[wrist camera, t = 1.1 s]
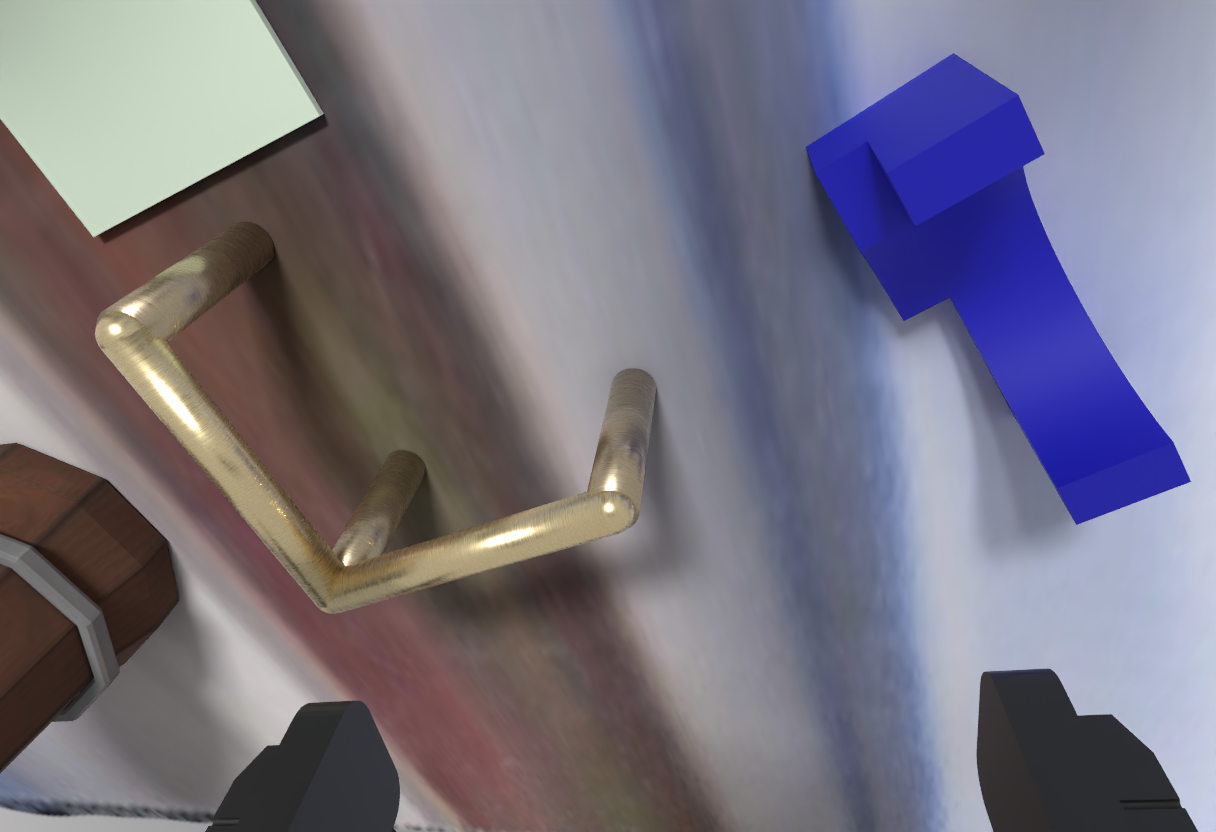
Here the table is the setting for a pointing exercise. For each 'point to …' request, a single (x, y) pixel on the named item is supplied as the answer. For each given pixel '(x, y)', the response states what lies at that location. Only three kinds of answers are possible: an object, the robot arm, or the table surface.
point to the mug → (69, 591)
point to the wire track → (357, 557)
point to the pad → (142, 95)
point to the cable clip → (993, 274)
